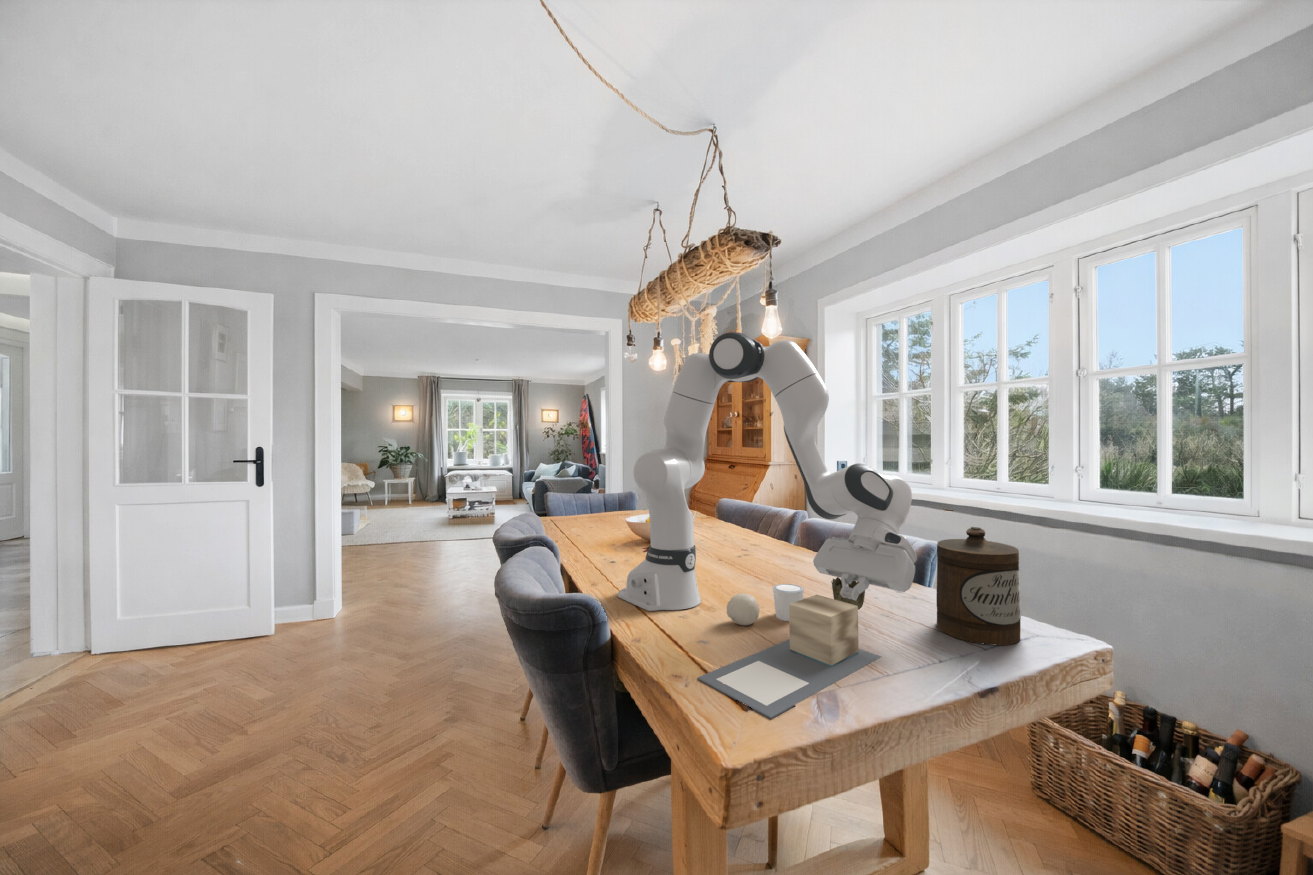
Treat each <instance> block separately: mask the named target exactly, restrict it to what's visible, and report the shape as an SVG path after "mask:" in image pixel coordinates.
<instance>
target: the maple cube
mask: <svg viewBox="0 0 1313 875" xmlns="http://www.w3.org/2000/svg"><path fill="white" fill-rule="evenodd" d="M788 623H789V639H790V651H792V652H794V653H797V654H799V655H802V656H804V657H807V658H809V659H812V660H814V661H817V662H820V663H822V664H825V665H827V666H830V667H833V666H835V665H837V664H839V663H841V662H843V661H845V660H846V659H848V658H850V657H852V656H854V655H856V654H858V653H859V649H860V648H859V610H858V606H856V605H853V604H849V603H845V602H842V601H838V600H834V598H831V597H826V596H823V595H820V594H814V595H812V596H808V597H805V598H803V600H800V601H797V602H794V603H791V604H789V621H788ZM858 648H859V649H858Z"/></svg>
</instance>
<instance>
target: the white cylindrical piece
mask: <svg viewBox="0 0 1313 875" xmlns="http://www.w3.org/2000/svg"><path fill="white" fill-rule="evenodd" d="M772 590H773V591H772V592H773V599H774V610H775V617H776V618H777V619H778V620H781V621H784V622H789V604H791V603H794V602H797V601H800V600H803V599H804V592H805V591H804V590H805V589H804V588H803V587H802V586H801V585H797V584H793V583H781V584H780V583H779V584H776V585H773V586H772Z"/></svg>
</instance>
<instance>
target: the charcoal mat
mask: <svg viewBox="0 0 1313 875" xmlns="http://www.w3.org/2000/svg"><path fill="white" fill-rule="evenodd" d="M858 649H859V653H858V654H856V655H854V656H852V657H850V658H848V659H846V660H845V661H843V662H841V663H839V664H837V665H835V666H833V667H830V666H827V665H825V664H822V663H820V662H817V661H814V660H812V659H809V658H807V657H804V656H802V655H799V654H797V653H794V652H792V651H790V638H789V639H787V640H785V641H781V642H779V643H776V644H775V645H772V646H770V647H766V648H765V649H762V650H760V651H758V652H754V653H753V654H751V655H748V656H745V657H743V658H741V659H738V660H736V661H733V662H732V663H731V662H730V663H728V664H727V665H724V666H722V667H719V668H717V669H714V670H713V671H712V670H711V671H709V672H707V673H705V674H703V675H699V676H698V677H697V680H698V681H700V682H702V683H703V684H706V685H707V686H708V687H711V688H713V689H714V690H716V691H719V692H720V693H722V694H724V695H726V696H727V697H729V698H731V699H733V700H735V701H736V700H738V701H740V702H742V703H744V704H746V705H747V706H749V707H751V708H752V709H751V708H750V709H751V710H753V711H755V712H757V713H759V714H760V715H762V716H764V717H766V718H768V719H770V720H774V718H776V717H779V716H780V715H782V714H784V713H787V711H789V710H791V709H793V708H794V707H796V705H797V704H799V703H801V702H803V701H805V700H806V699H809V697H811V696H813V695H815V694H817V693H819V692H821V691H823V690H824V689H826V688H828V687H829V686H831V685H833V684H835V683H837V682H839V681H840V680H842V679H844V678H847V677H849V675H851V674H853V673H856V672H857V671H859V670H860V669H862V668H865V667H866V666H869V665H870V664H872V663H873V662H875V661H877V660H878V659H879V660H880V658H882V657H883V656H881V655H878V654H875V653H873V652H870V651H866V650H864V649H862V648H859V647H858ZM723 683H725V684H723ZM738 701H737V702H738ZM740 702H739V703H740ZM742 703H741V704H742ZM744 704H743V705H744ZM746 705H745V706H746ZM747 706H746V707H747ZM749 707H748V708H749Z"/></svg>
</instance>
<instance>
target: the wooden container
mask: <svg viewBox="0 0 1313 875" xmlns="http://www.w3.org/2000/svg"><path fill="white" fill-rule="evenodd" d="M965 534H966V535H967V537H966V538H950V539H949V538H948V539H941V540H939V541H937V543H936V557H937V559H936V625H937V628H938V629H939V630H940V631H941V632H943V633H945V634H947V635H948V636H950V637H953V638H955V639H958V640H962V641H965V642H969V643H973V642H977V643H976V644H978V643H984V644H983V645H985V644H996V645H995V646H1009V645H1014V644H1016V643H1018V642H1020V641H1021V623H1022V622H1021V619H1022V618H1021V615H1022V614H1021V613H1022V612H1021V610H1022V609H1021V588H1020V586H1021V584H1020V583H1021V582H1020V553H1019V548H1017V547H1015V546H1012V545H1009V544H1006V543H1001V542H998V541H997V542H996V541H988V540H987V539H986V538H985V536H986V530H984V529H983V528H982V527H977V526H976V527H975V526H970V528H968V529H967V530H966V533H965Z"/></svg>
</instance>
